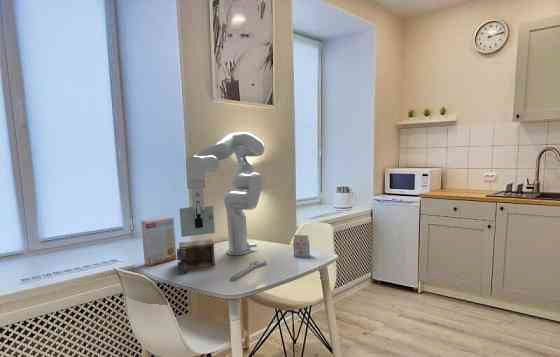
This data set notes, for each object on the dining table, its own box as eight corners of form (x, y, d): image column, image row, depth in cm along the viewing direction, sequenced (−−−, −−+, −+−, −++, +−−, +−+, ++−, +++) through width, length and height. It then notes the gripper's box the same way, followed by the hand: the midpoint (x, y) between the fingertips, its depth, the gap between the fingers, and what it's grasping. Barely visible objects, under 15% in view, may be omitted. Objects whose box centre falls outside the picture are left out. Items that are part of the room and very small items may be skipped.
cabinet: (212, 259, 164) (211, 239, 164) (216, 269, 149) (215, 246, 148) (177, 264, 160) (176, 243, 159) (178, 274, 144) (176, 251, 144)
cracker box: (171, 257, 172) (168, 216, 171) (177, 259, 168) (174, 217, 167) (143, 264, 162) (140, 220, 161) (149, 266, 158) (146, 221, 157)
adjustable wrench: (234, 282, 132) (234, 278, 132) (221, 280, 136) (221, 276, 136) (268, 264, 154) (268, 260, 154) (256, 262, 157) (256, 258, 157)
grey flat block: (214, 231, 152) (212, 205, 151) (215, 233, 148) (213, 206, 148) (181, 235, 148) (179, 208, 147) (181, 237, 144) (179, 209, 143)
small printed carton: (297, 254, 167) (296, 234, 167) (309, 255, 164) (309, 234, 164) (293, 256, 164) (293, 235, 163) (306, 257, 161) (306, 236, 160)
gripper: (206, 185, 141) (209, 229, 142) (203, 183, 156) (205, 223, 157) (187, 186, 139) (190, 231, 140) (186, 184, 154) (189, 224, 155)
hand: (198, 226), depth 148 cm, fingers closed on grey flat block, 2 cm apart
